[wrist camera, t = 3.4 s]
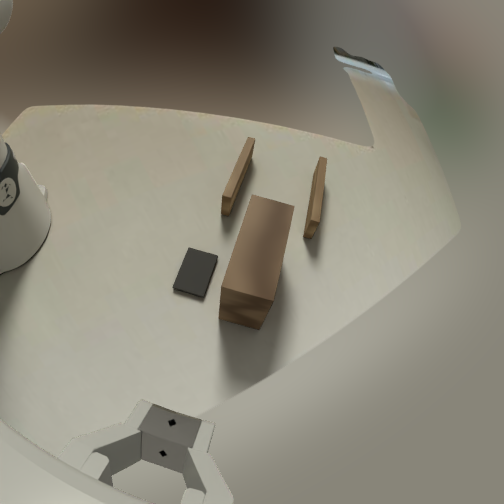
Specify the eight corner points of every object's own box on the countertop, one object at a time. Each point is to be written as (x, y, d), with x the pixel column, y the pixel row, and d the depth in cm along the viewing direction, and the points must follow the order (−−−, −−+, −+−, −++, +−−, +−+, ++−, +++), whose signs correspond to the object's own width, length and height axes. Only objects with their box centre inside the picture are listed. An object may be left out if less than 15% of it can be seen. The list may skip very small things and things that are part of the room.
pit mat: (173, 288, 37) (172, 286, 37) (188, 249, 40) (188, 247, 40) (203, 297, 37) (203, 296, 37) (217, 257, 40) (217, 255, 40)
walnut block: (218, 318, 36) (221, 286, 28) (243, 238, 42) (252, 194, 35) (259, 329, 36) (273, 300, 28) (278, 248, 42) (294, 206, 35)
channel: (221, 214, 44) (222, 195, 41) (245, 154, 51) (248, 136, 48) (311, 238, 44) (319, 222, 40) (320, 175, 51) (327, 158, 48)
